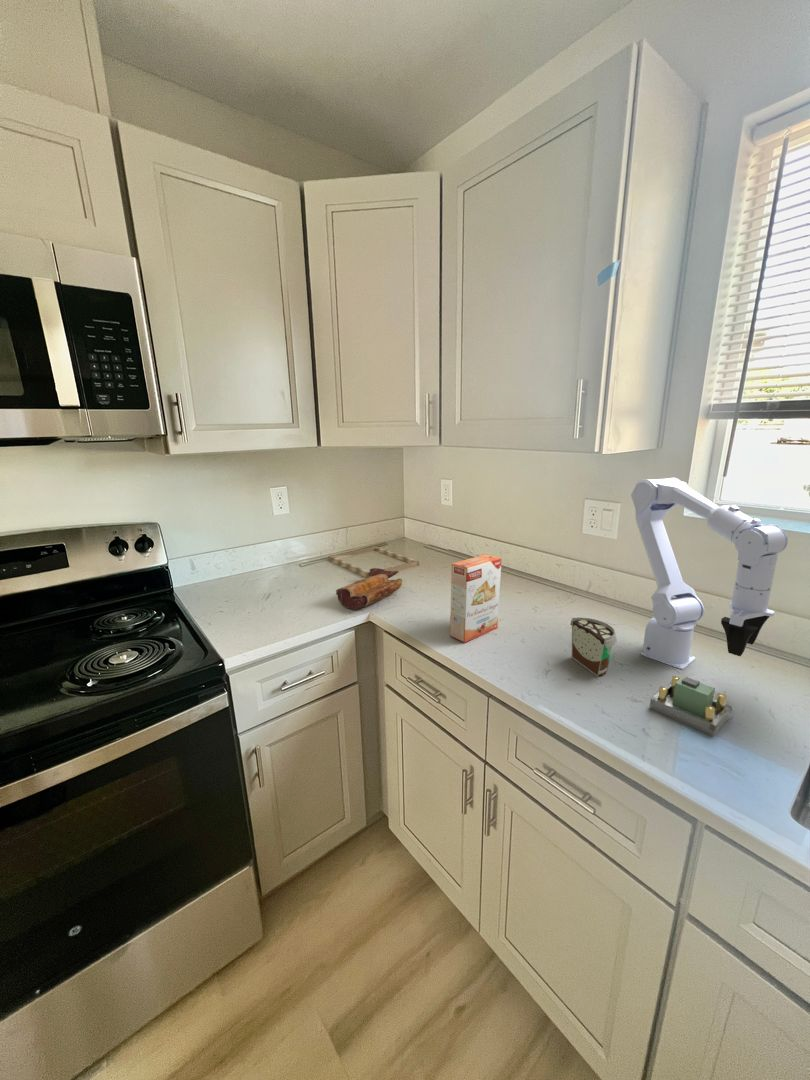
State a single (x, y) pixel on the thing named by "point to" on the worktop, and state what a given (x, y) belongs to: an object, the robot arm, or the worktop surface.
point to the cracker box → (475, 597)
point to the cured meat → (369, 589)
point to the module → (692, 696)
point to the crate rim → (363, 572)
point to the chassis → (708, 725)
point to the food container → (592, 644)
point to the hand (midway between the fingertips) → (740, 648)
